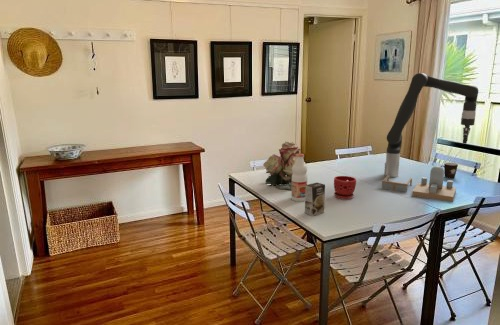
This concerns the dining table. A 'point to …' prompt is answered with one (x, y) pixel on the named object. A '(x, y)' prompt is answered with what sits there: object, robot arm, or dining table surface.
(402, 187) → the thin wooden rail frame
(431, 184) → the wooden peg board
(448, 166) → the coffee mug
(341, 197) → the plant pot
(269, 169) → the rose bouquet
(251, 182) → the dining table surface
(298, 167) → the fruit juice
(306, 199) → the coffee box
